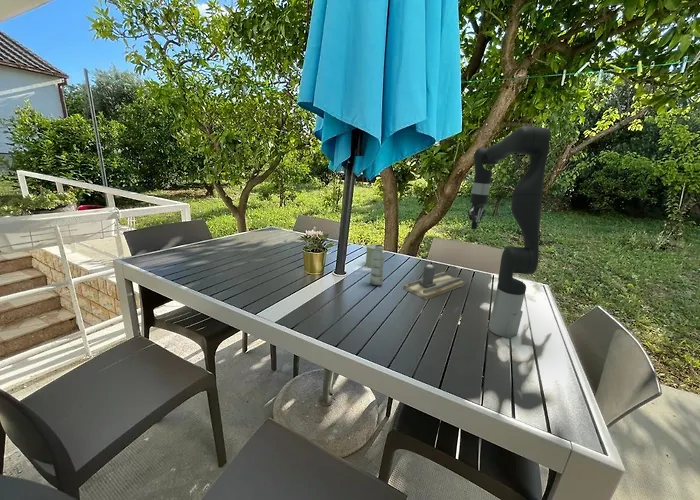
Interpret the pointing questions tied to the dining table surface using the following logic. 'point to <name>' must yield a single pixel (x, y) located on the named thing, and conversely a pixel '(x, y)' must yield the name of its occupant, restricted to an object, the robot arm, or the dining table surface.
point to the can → (369, 254)
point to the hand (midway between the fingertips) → (473, 229)
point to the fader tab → (428, 276)
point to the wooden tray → (442, 286)
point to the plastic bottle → (377, 265)
